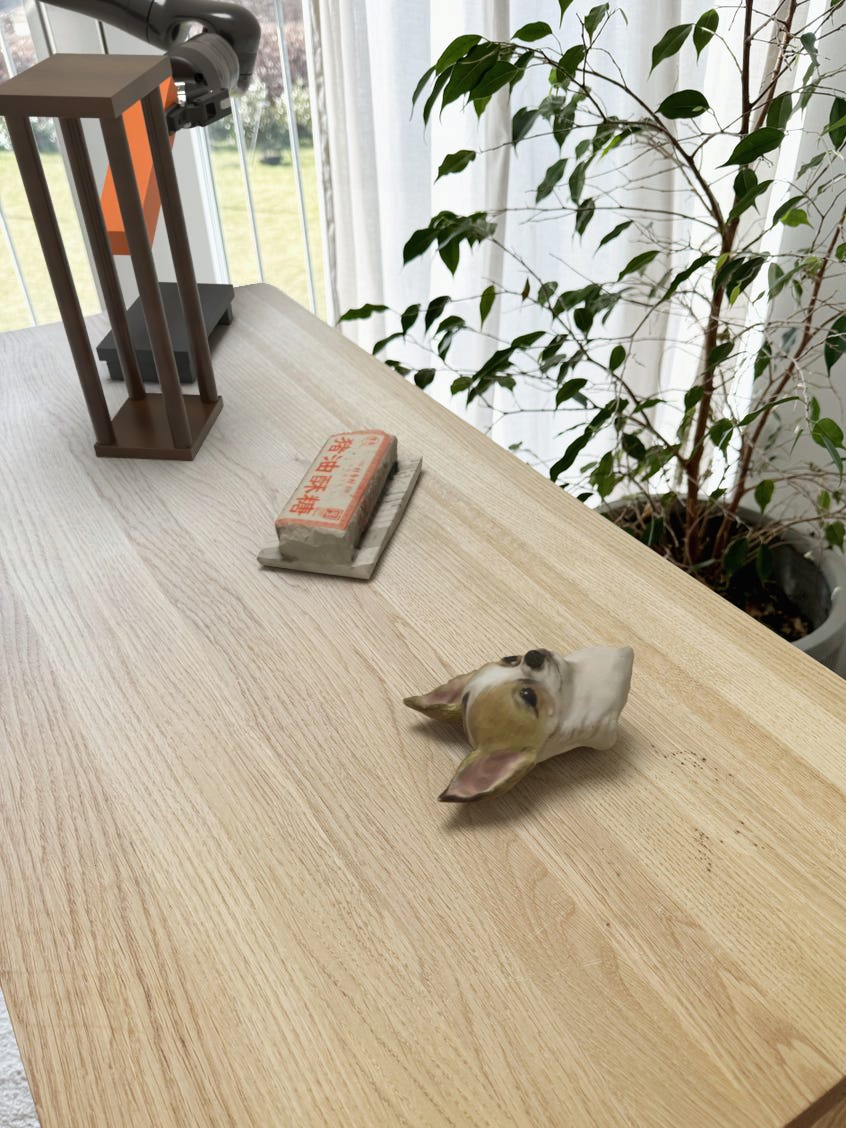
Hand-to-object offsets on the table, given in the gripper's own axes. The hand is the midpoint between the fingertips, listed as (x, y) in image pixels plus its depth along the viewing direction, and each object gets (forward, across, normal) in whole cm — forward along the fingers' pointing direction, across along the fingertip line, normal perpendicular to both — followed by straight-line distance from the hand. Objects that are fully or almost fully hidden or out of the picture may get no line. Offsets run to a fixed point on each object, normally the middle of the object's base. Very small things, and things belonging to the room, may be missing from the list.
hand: (141, 124), depth 103 cm
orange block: (+2, 0, -4) cm, 5 cm away
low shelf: (+4, 0, -23) cm, 23 cm away
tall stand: (+22, -4, -23) cm, 32 cm away
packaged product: (+36, -26, -23) cm, 49 cm away
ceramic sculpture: (+62, -43, -22) cm, 79 cm away
